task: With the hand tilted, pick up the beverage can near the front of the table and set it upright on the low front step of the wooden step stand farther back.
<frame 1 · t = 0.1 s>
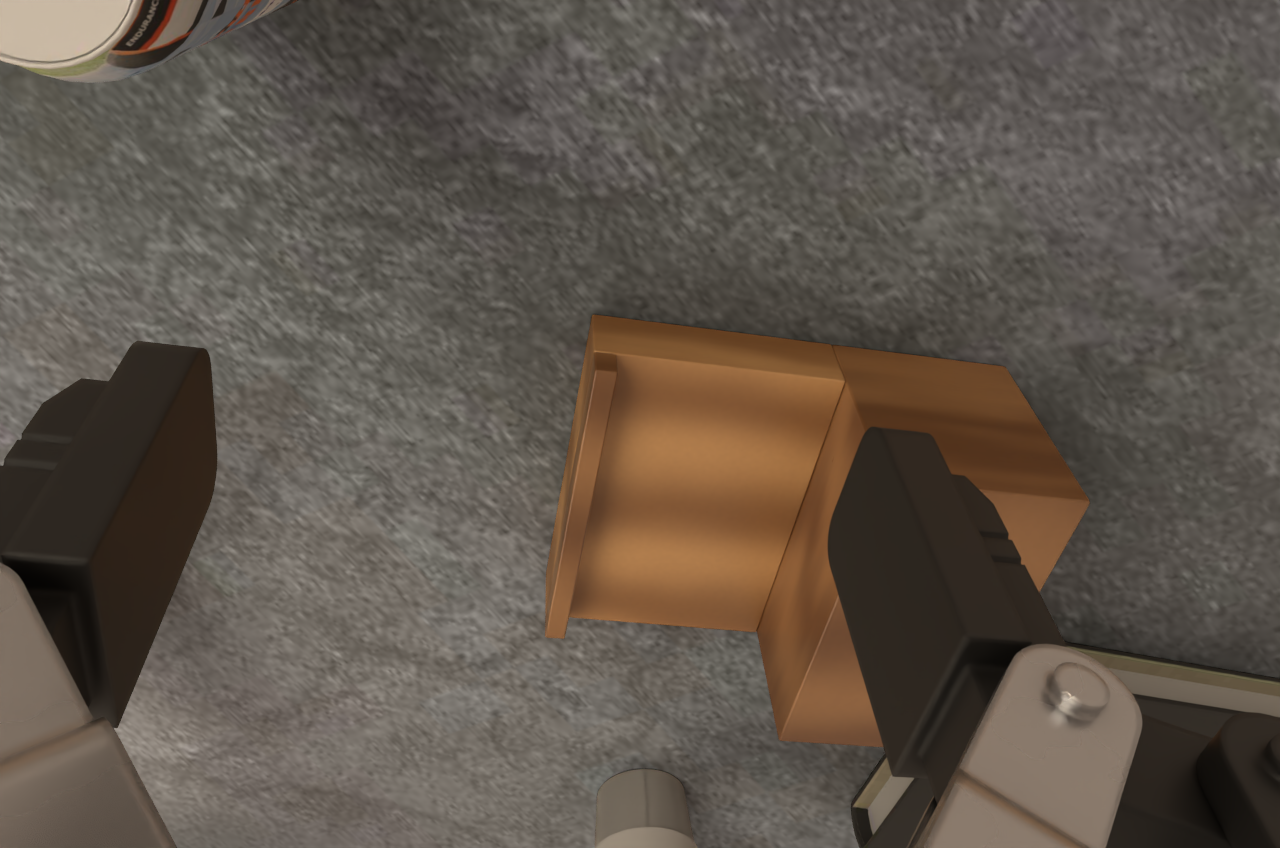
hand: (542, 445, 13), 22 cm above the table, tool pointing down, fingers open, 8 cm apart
cup: (640, 792, 55), on the table
wooden step stand: (762, 475, 42), on the table
book: (1087, 748, 55), on the table
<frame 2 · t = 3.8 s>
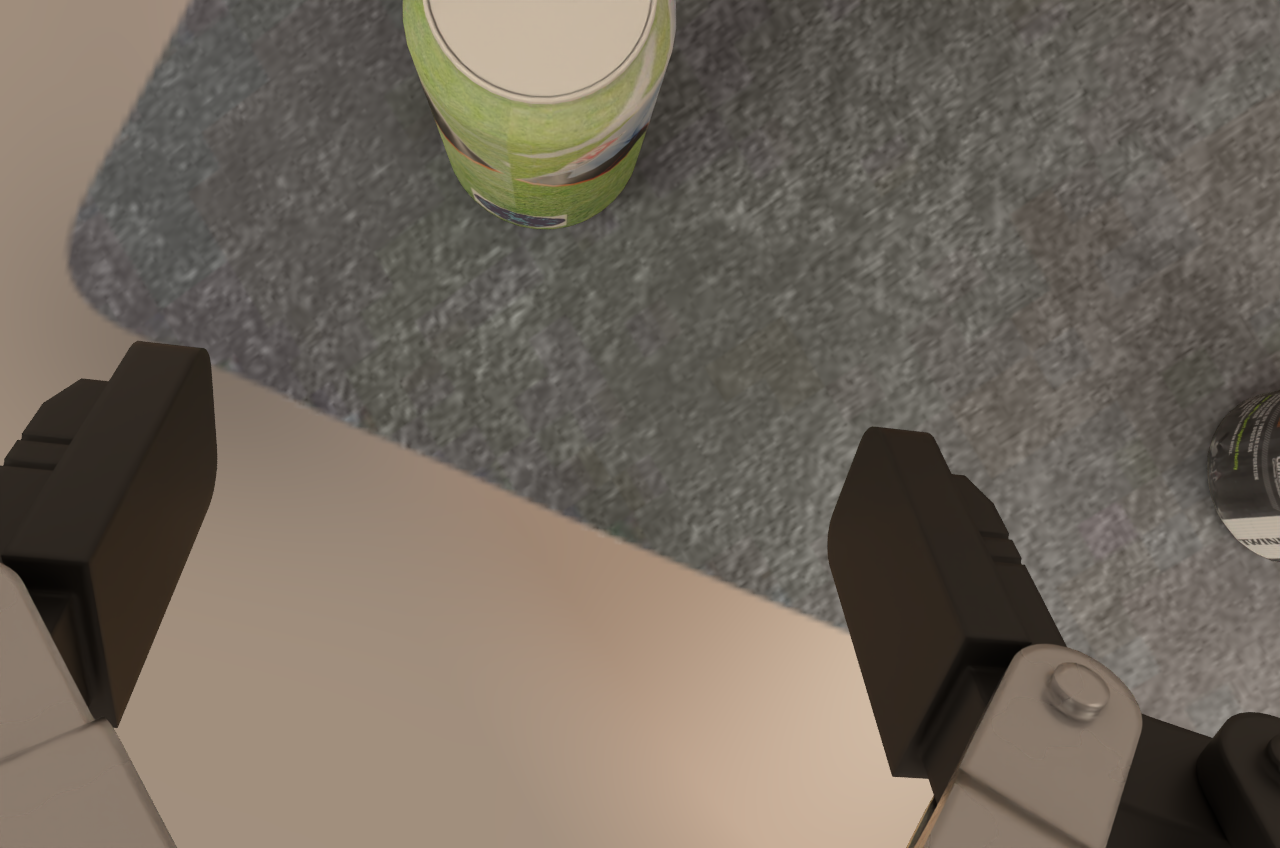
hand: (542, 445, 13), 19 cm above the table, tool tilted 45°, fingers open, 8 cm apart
pill bottle: (1271, 478, 36), on the table
beverage can: (527, 165, 33), on the table
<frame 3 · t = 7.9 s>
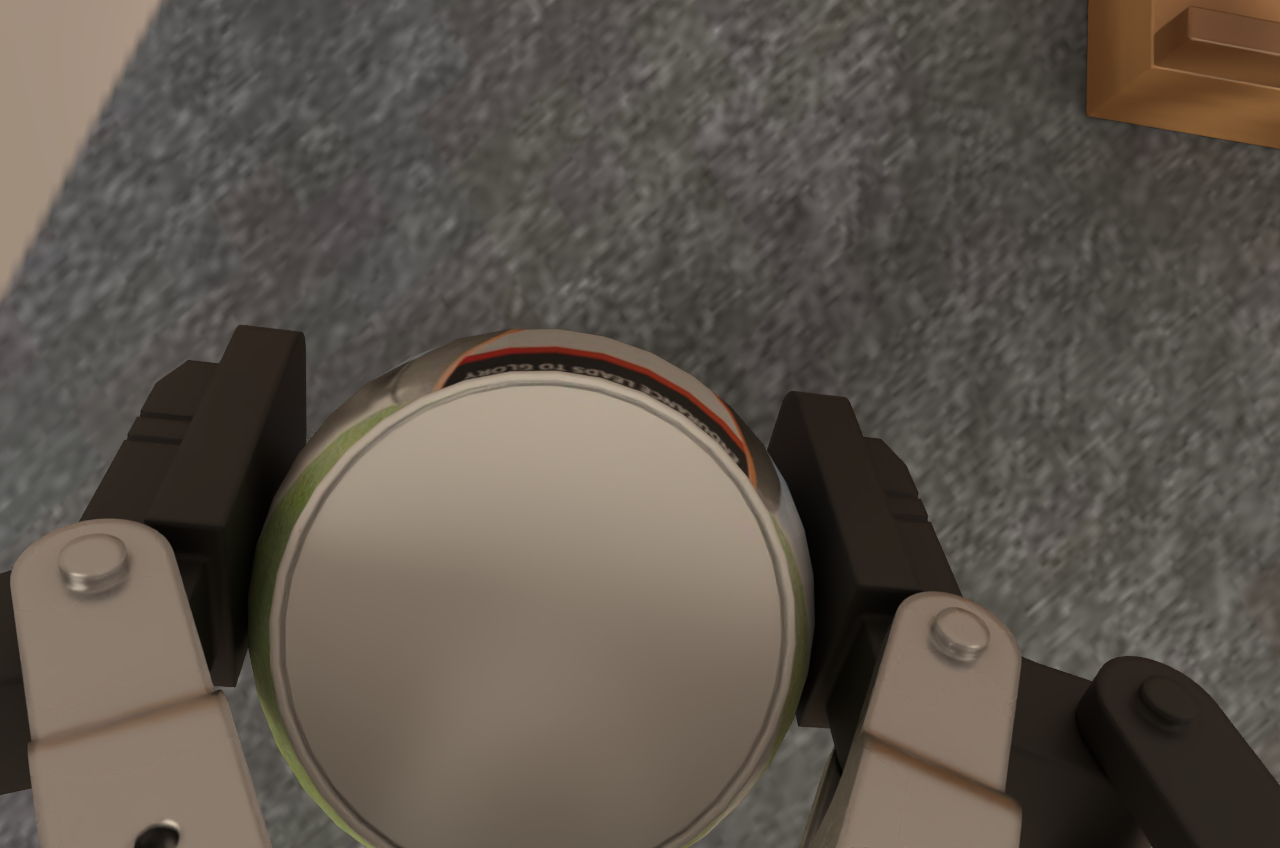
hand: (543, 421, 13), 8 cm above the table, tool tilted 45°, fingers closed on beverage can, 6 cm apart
beverage can: (512, 570, 21), on the table, touching gripper
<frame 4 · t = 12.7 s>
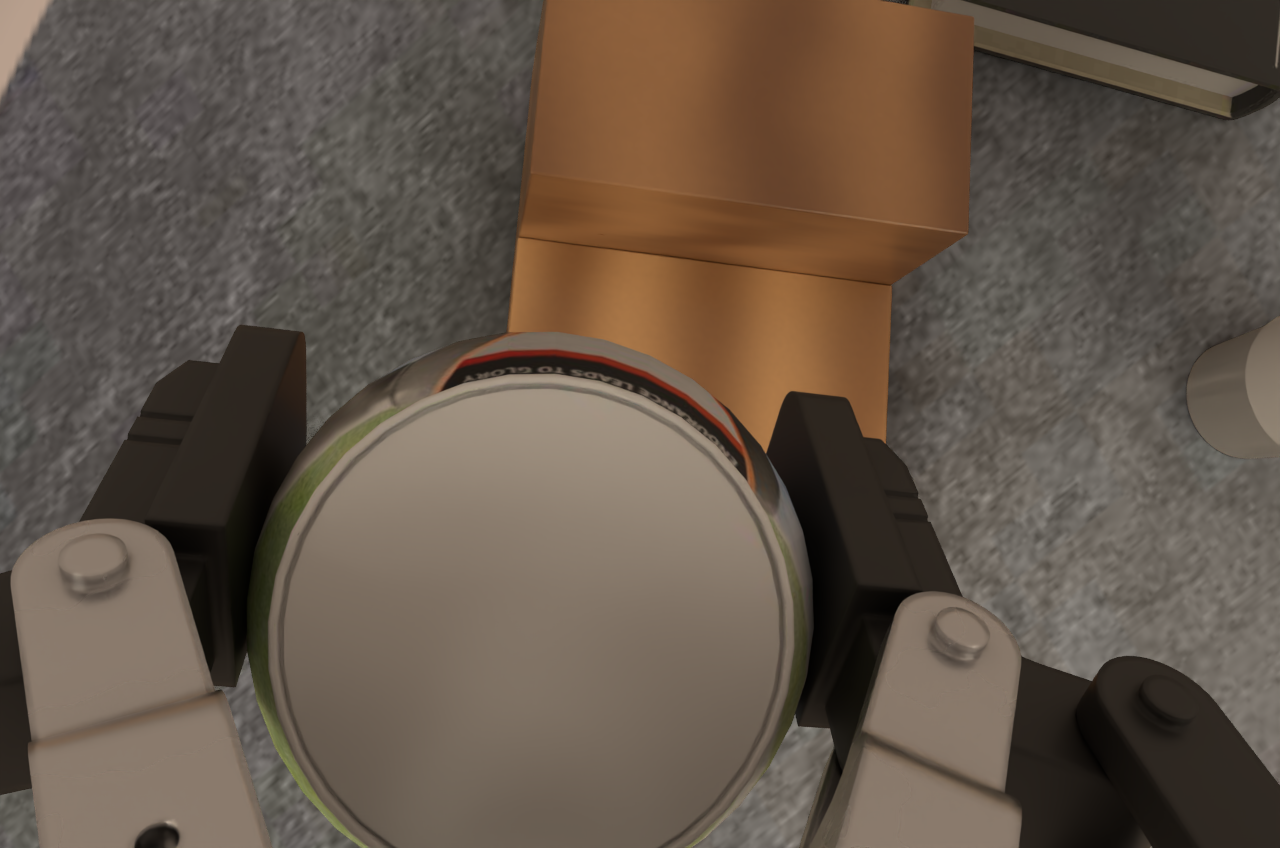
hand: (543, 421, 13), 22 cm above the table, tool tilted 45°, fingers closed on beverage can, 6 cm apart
cup: (1234, 400, 41), on the table
beverage can: (512, 571, 21), point 14 cm above the table, touching gripper
wooden step stand: (692, 308, 37), on the table
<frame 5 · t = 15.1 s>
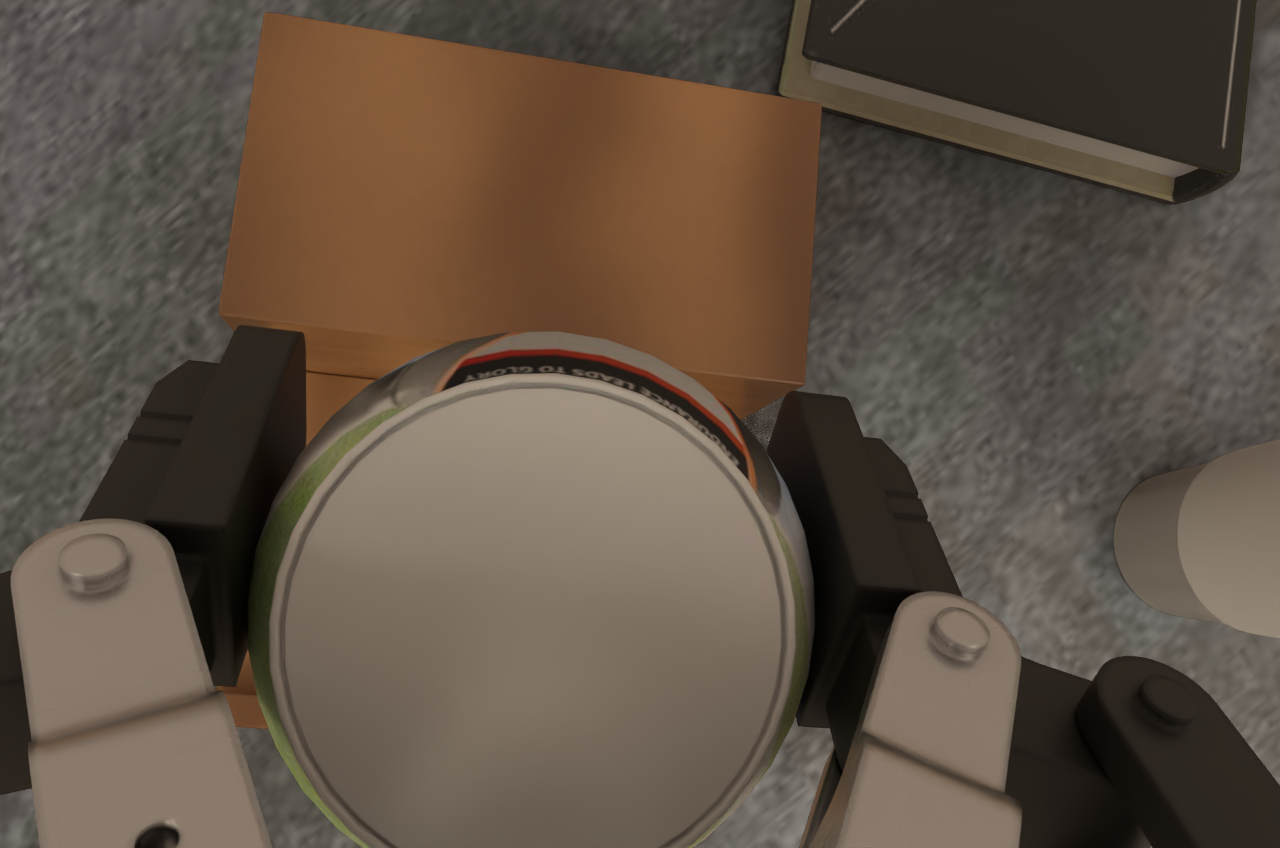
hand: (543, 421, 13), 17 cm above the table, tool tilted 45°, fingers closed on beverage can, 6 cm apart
cup: (1173, 544, 34), on the table
beverage can: (513, 571, 21), point 9 cm above the table, touching gripper
wooden step stand: (503, 441, 31), on the table
when the fingers open (11 cm above the table, at t = 17.5 s): beverage can stays where it is, resting on wooden step stand.
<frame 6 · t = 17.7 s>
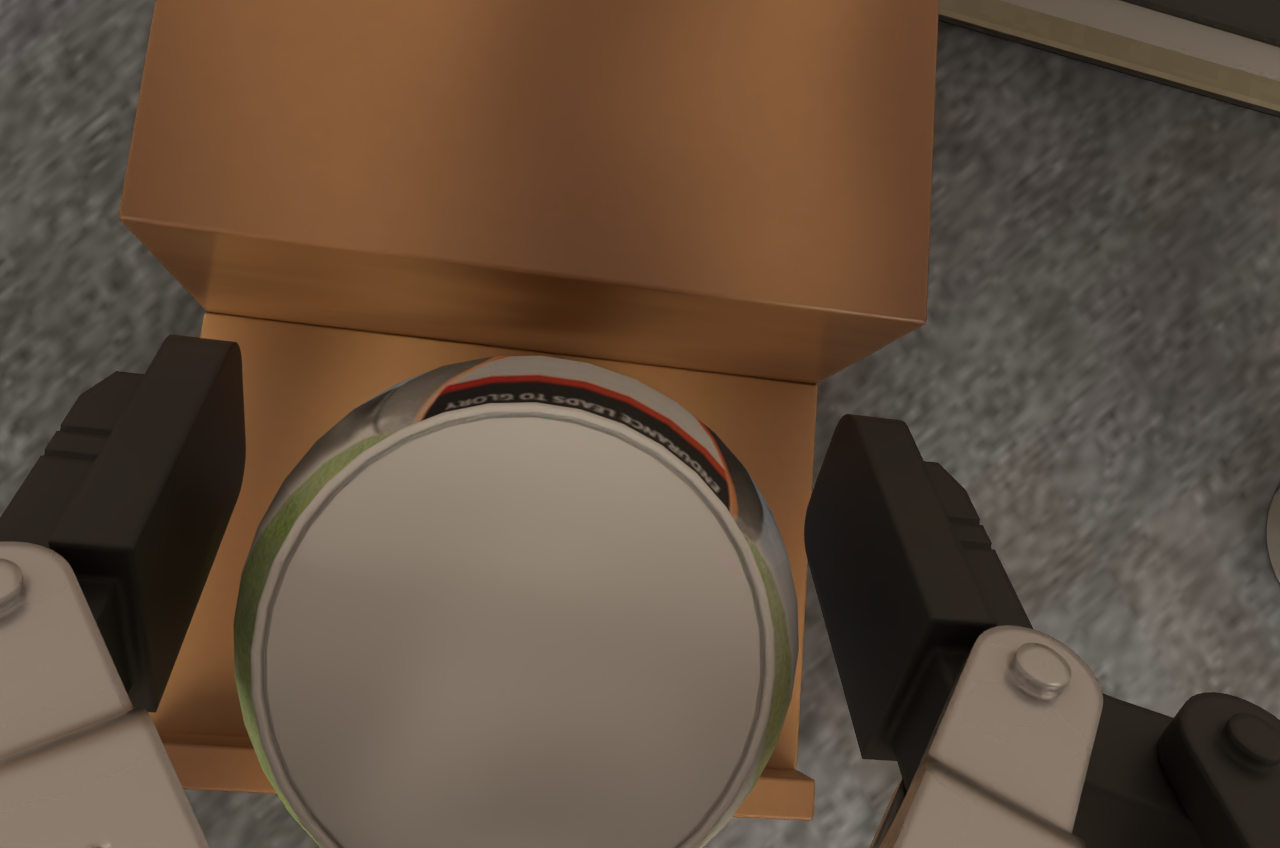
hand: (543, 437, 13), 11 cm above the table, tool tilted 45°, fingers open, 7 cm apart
beverage can: (512, 578, 21), point 2 cm above the table, touching wooden step stand
wooden step stand: (514, 413, 24), on the table
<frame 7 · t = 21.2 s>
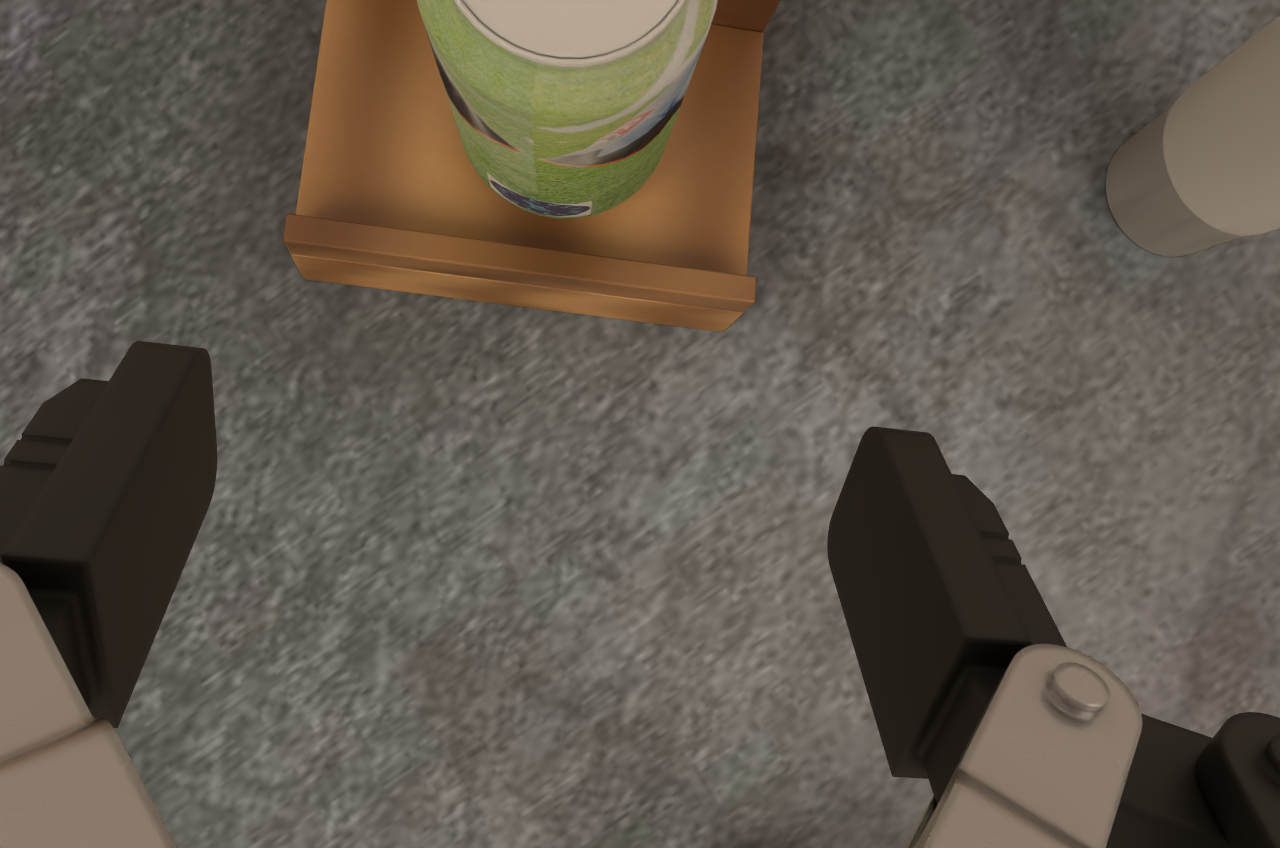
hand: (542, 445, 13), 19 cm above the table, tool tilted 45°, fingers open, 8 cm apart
cup: (1161, 195, 37), on the table
beverage can: (546, 150, 31), point 2 cm above the table, touching wooden step stand
wooden step stand: (545, 66, 33), on the table
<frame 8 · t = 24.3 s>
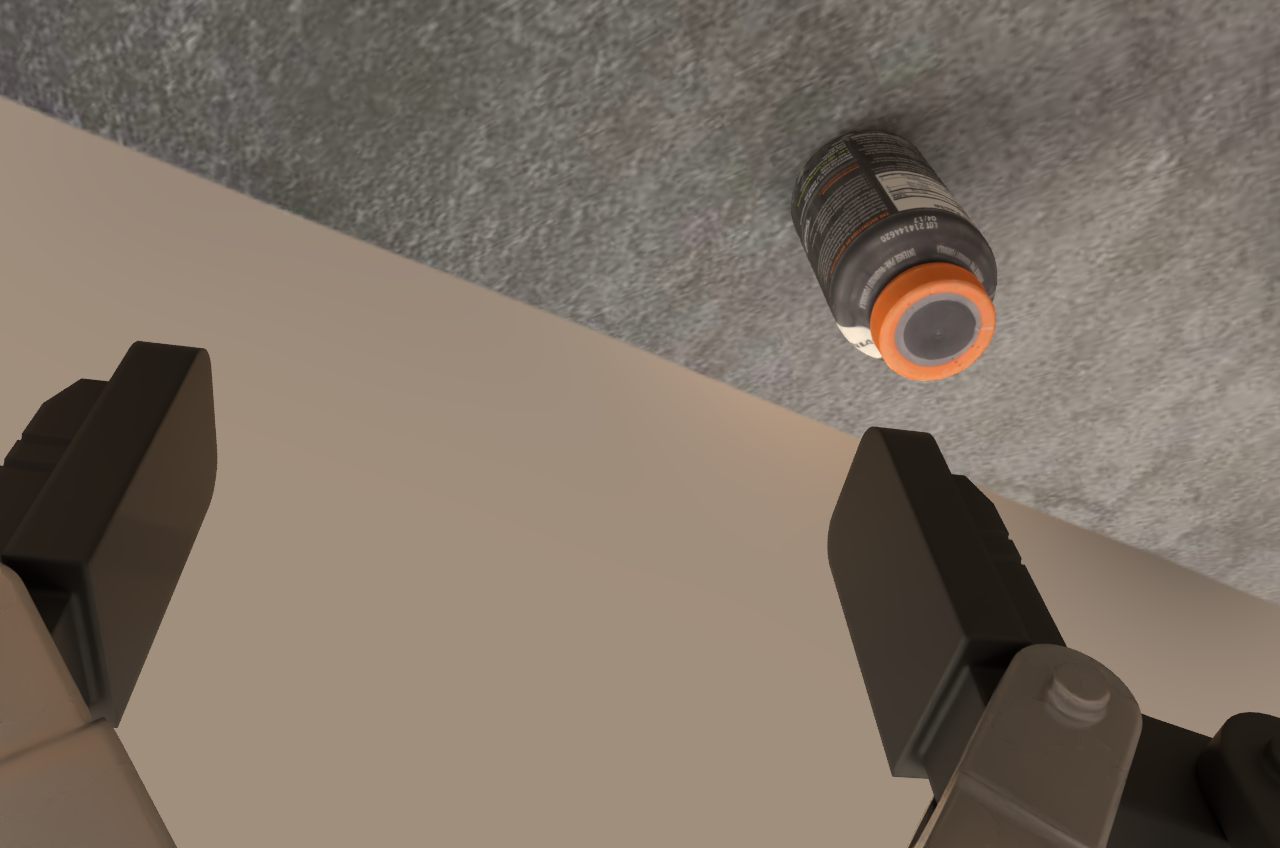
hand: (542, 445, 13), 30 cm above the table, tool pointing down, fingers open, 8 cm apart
pill bottle: (858, 193, 44), on the table
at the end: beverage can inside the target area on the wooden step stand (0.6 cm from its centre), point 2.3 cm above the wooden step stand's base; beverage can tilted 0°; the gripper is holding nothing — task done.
